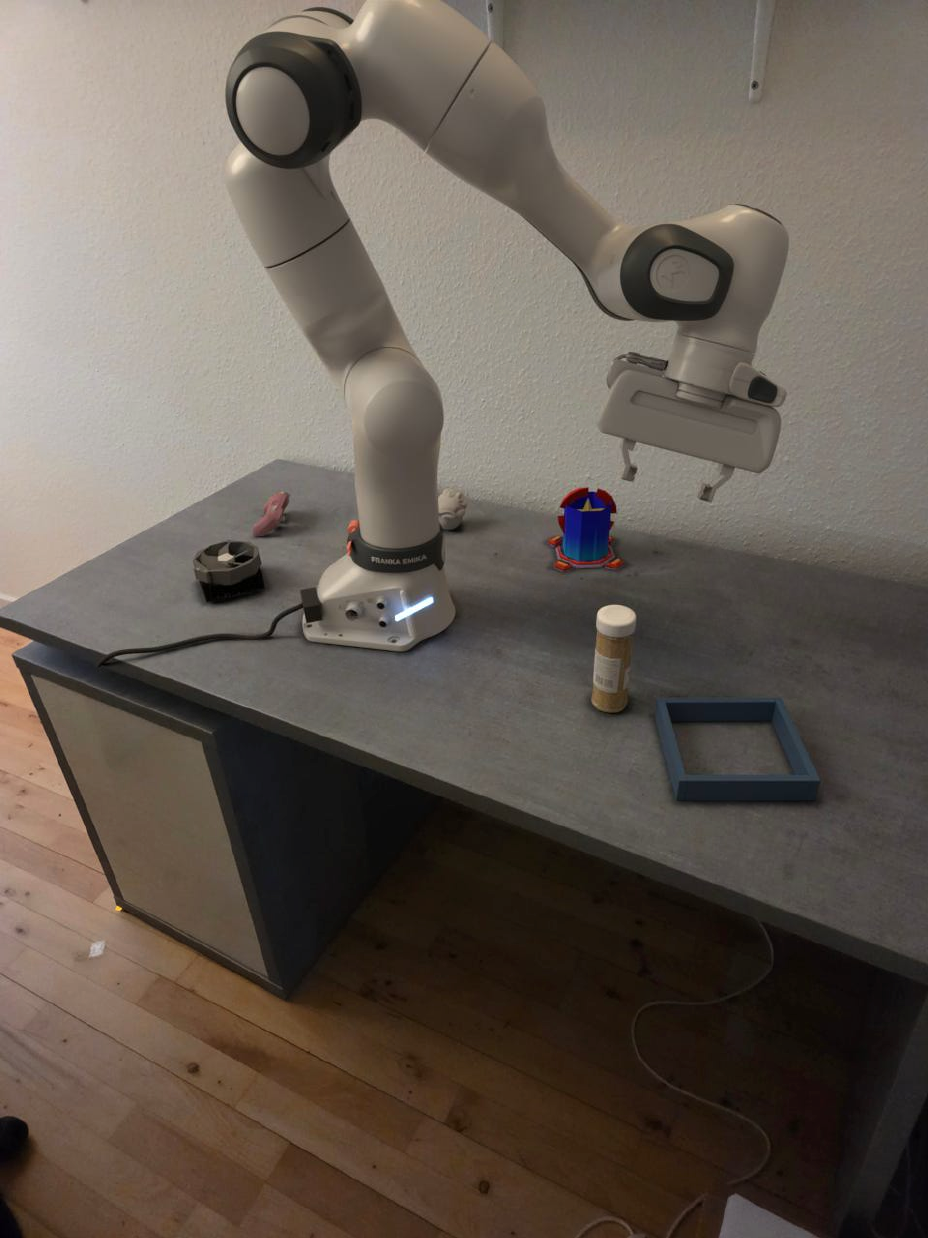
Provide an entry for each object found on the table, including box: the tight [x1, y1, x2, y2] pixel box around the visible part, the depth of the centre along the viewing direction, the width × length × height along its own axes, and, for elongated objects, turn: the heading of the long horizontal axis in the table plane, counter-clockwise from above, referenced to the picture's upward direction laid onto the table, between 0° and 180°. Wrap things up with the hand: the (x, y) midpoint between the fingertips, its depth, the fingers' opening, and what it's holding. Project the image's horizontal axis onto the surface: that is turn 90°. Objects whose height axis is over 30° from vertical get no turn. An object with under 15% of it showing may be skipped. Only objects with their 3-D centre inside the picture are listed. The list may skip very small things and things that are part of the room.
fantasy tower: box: [546, 486, 626, 574], centre depth 128 cm, size 12×12×12 cm
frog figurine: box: [438, 488, 468, 531], centre depth 139 cm, size 6×7×7 cm
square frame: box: [654, 696, 821, 801], centre depth 90 cm, size 15×14×3 cm
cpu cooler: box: [192, 539, 266, 604], centre depth 125 cm, size 10×6×10 cm
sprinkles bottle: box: [590, 604, 637, 714], centre depth 96 cm, size 5×5×13 cm
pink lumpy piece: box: [251, 490, 291, 537], centre depth 142 cm, size 10×5×7 cm, turn 179°
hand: (665, 489), depth 93 cm, fingers open, 8 cm apart
